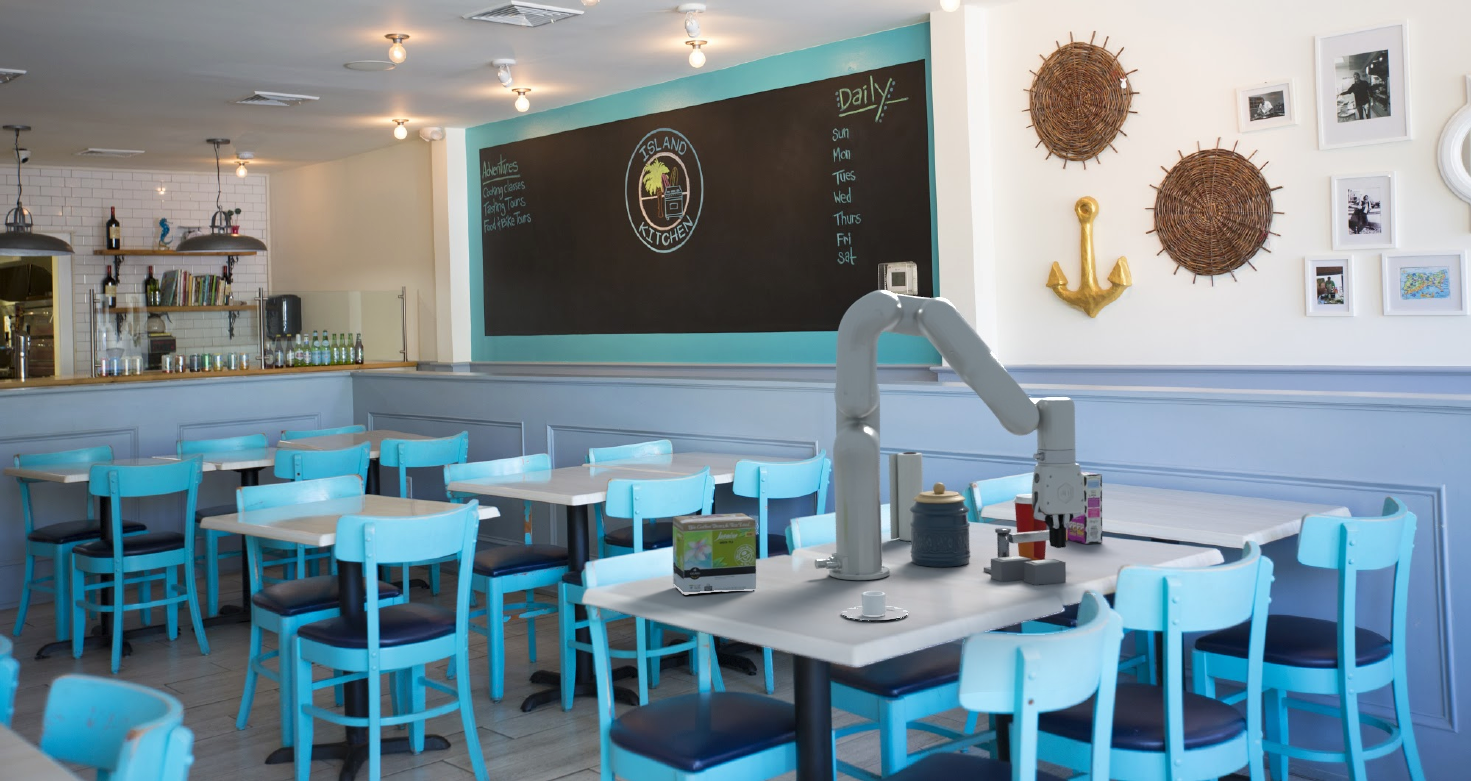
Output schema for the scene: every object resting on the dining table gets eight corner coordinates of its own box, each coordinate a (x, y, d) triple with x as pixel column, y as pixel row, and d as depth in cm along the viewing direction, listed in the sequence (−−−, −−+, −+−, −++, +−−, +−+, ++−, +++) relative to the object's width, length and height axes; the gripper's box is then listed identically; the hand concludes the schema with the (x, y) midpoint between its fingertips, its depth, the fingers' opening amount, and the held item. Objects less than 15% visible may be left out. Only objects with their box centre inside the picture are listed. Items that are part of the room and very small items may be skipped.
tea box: (684, 597, 234) (682, 522, 233) (673, 587, 243) (670, 515, 243) (757, 591, 238) (755, 517, 237) (744, 582, 247) (742, 510, 247)
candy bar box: (1104, 543, 281) (1103, 473, 281) (1085, 544, 280) (1084, 475, 279) (1076, 536, 292) (1075, 469, 291) (1059, 537, 291) (1058, 470, 290)
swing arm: (1013, 545, 249) (1013, 533, 249) (1007, 543, 251) (1007, 531, 251) (1067, 540, 253) (1067, 528, 253) (1060, 538, 256) (1060, 527, 255)
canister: (899, 561, 266) (897, 482, 265) (946, 555, 272) (944, 477, 271) (934, 570, 254) (933, 487, 253) (982, 563, 260) (981, 483, 259)
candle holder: (904, 608, 220) (904, 585, 220) (912, 624, 208) (912, 599, 208) (839, 610, 221) (839, 586, 221) (843, 625, 209) (843, 600, 209)
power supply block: (1035, 585, 236) (1035, 564, 236) (1024, 581, 240) (1024, 560, 240) (1065, 582, 238) (1065, 561, 238) (1054, 578, 242) (1053, 557, 242)
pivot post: (999, 576, 246) (998, 532, 246) (983, 571, 252) (982, 528, 251) (1024, 573, 248) (1023, 530, 248) (1008, 568, 254) (1007, 526, 253)
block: (1001, 581, 240) (1001, 560, 240) (991, 578, 244) (990, 557, 244) (1031, 578, 243) (1031, 558, 243) (1020, 575, 247) (1020, 554, 246)
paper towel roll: (927, 538, 295) (926, 451, 294) (917, 542, 289) (916, 454, 289) (900, 536, 298) (899, 451, 298) (890, 540, 293) (888, 453, 292)
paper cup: (1046, 555, 268) (1045, 492, 268) (1052, 561, 261) (1051, 497, 260) (1011, 555, 269) (1010, 493, 268) (1016, 561, 261) (1015, 497, 261)
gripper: (1035, 461, 238) (1037, 552, 239) (1098, 457, 244) (1099, 546, 244) (1014, 458, 245) (1016, 547, 246) (1076, 454, 251) (1077, 541, 251)
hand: (1057, 546), depth 245 cm, fingers closed
